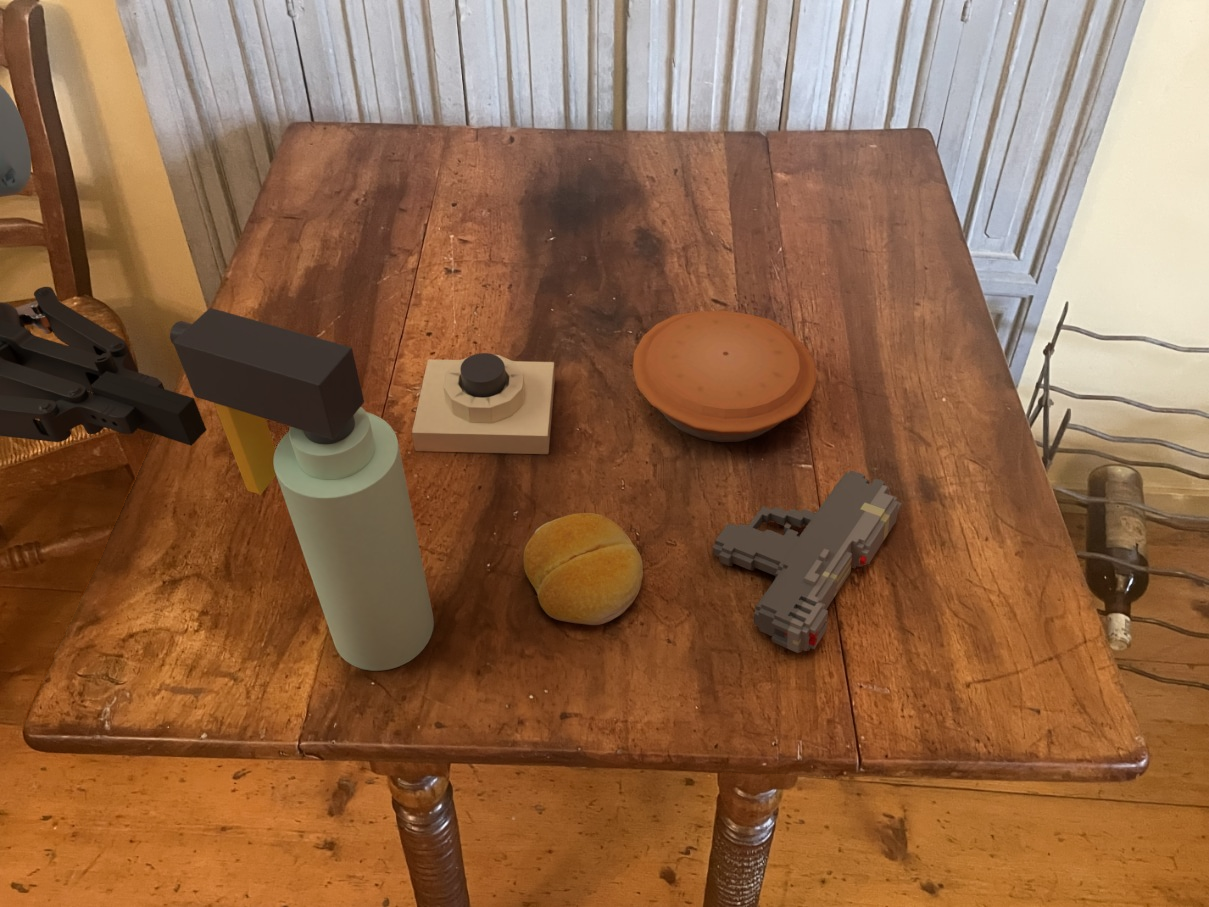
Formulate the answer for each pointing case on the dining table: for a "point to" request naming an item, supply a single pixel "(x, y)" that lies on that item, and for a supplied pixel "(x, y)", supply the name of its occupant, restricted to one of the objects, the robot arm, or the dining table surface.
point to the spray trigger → (249, 446)
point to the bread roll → (583, 568)
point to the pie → (723, 374)
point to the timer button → (483, 375)
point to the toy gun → (810, 555)
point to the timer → (485, 411)
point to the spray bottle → (325, 477)
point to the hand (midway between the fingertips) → (192, 422)
